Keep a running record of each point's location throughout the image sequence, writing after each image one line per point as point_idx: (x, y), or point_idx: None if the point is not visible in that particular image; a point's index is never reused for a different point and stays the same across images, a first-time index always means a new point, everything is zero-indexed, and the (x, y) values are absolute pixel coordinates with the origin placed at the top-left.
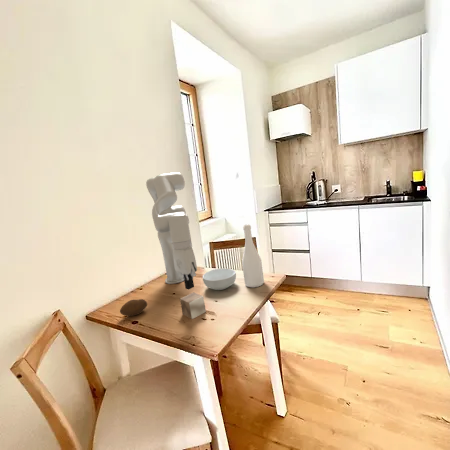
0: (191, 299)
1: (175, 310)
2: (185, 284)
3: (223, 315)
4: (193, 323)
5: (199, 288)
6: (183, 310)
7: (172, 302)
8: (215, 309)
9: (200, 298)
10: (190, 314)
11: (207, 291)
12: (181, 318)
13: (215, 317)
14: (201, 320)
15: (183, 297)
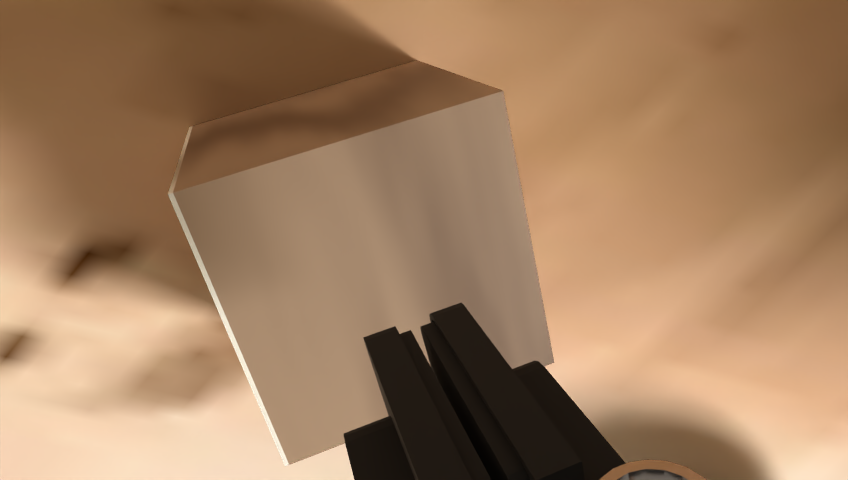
0: (294, 268)
1: (586, 10)
2: (470, 379)
3: (30, 473)
4: (53, 106)
5: (830, 398)
6: (393, 80)
7: (806, 46)
8: (245, 431)
9: (262, 404)
10: (209, 133)
11: (703, 451)
12: (312, 7)
13: (39, 387)
14: (71, 222)
15: (497, 165)
